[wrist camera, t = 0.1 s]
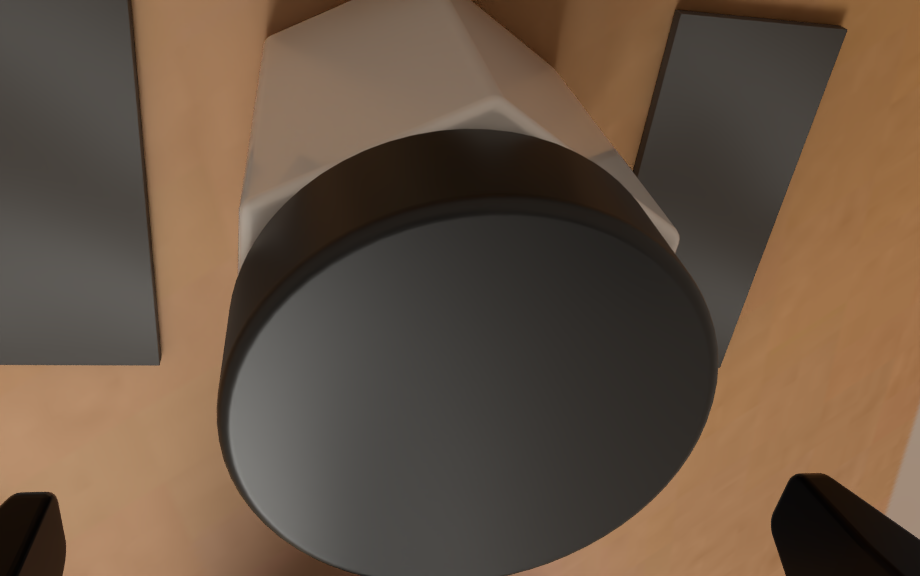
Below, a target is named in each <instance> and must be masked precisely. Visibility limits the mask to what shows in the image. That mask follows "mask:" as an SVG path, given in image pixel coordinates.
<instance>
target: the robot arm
mask: <svg viewBox="0 0 920 576" xmlns="http://www.w3.org/2000/svg"><path fill="white" fill-rule="evenodd" d="M771 530H772V535H773V538H774V541H775V544H776V547H777V550H778V553H779V556H780V559H781V562H782V565H783V568H784V571H785V574H786V576H920V539H918V538H917V537H915V536H914V535H912V534H911V533H910V532H908V531H907V530H905V529H904V528H902V527H901V526H900V525H898V524H897V523H895V522H894V521H892V520H891V519H889V518H888V517H887V516H885V515H884V514H882V513H881V512H880V511H878V510H877V509H875V508H874V507H873V506H871V505H870V504H868V503H867V502H865V501H864V500H863V499H861V498H860V497H858V496H857V495H855V494H854V493H853V492H851V491H850V490H848V489H847V488H845V487H844V486H843V485H841V484H840V483H838V482H837V481H835V480H834V479H833V478H831V477H829V476H828V475H825V474H822V473H802V474H795V475H794V476H792V477H791V478H790V480H789V481H788V483H787V485H786V487H785V489H784V491H783V493H782V495H781V497H780V500H779V502H778V504H777V506H776V508H775V510H774V512H773V514H772V519H771ZM65 557H66V540H65V535H64V530H63V525H62V520H61V514H60V509H59V504H58V500H57V498H56V496H55V495H54V494H53V493H50V492H23V493H16V494H14V495H12V496H10V497H9V498H8V499H7V500H6V501H5V502H4V503H3V504H2V505H1V506H0V576H62V575H63V570H64V565H65Z"/></svg>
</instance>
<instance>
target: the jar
mask: <svg viewBox="0 0 920 576" xmlns="http://www.w3.org/2000/svg"><path fill="white" fill-rule="evenodd" d="M679 240H680V238H679V233H678V231H677V229H676V228H675V227H674V225H673V224H672V223H671V221H670V220H669V219H668V217H667V216H666V215H665V213H664V212H663V211H662V209H661V208H660V207H659V205H658V204H657V203H656V202H655V200H654V199H653V198H652V196H651V195H650V194H649V192H648V191H647V190H646V188H645V187H644V186H643V184H642V183H641V182H640V180H639V179H638V178H637V177H636V175H635V174H634V173H633V171H632V170H631V169H630V167H629V166H628V165H627V163H626V162H625V161H624V159H623V158H622V157H621V155H620V154H619V153H618V151H617V150H616V149H615V148H614V146H613V145H612V144H611V142H610V141H609V140H608V138H607V137H606V136H605V134H604V133H603V132H602V130H601V129H600V128H599V126H598V125H597V124H596V123H595V121H594V120H593V119H592V117H591V116H590V115H589V113H588V112H587V111H586V109H585V108H584V107H583V105H582V104H581V103H580V101H579V100H578V99H577V97H576V96H575V95H574V94H573V92H572V91H571V90H570V88H569V87H568V86H567V84H566V83H565V82H564V80H563V79H562V78H561V76H560V75H559V74H558V72H557V71H556V70H555V69H554V68H553V67H552V66H551V65H549V64H548V63H547V62H546V61H544V60H543V59H542V58H541V57H539V56H538V55H537V54H536V53H535V52H533V51H532V50H531V49H530V48H528V47H527V46H526V45H525V44H524V43H522V42H521V41H520V40H519V39H517V38H516V37H515V36H514V35H513V34H511V33H510V32H509V31H508V30H506V29H505V28H504V27H503V26H501V25H500V24H499V23H498V22H497V21H495V20H494V19H493V18H492V17H490V16H489V15H488V14H487V13H486V12H484V11H483V10H482V9H481V8H479V7H478V6H477V5H476V4H474V3H473V2H472V1H471V0H351V1H348V2H346V3H344V4H341V5H339V6H337V7H335V8H332V9H330V10H328V11H326V12H323V13H321V14H319V15H316V16H314V17H312V18H310V19H307V20H305V21H303V22H300V23H298V24H296V25H294V26H291V27H289V28H287V29H284V30H282V31H280V32H277V33H275V34H273V35H271V36H269V37H268V38H267V39H266V40H265V41H264V44H263V51H262V58H261V64H260V71H259V78H258V85H257V92H256V98H255V105H254V112H253V119H252V125H251V132H250V139H249V146H248V152H247V159H246V166H245V173H244V179H243V186H242V193H241V199H240V206H239V233H238V277H237V280H236V283H235V287H234V290H233V294H232V299H231V304H230V310H229V317H228V325H227V332H226V339H225V346H224V354H223V361H222V368H221V375H220V383H219V390H218V399H217V427H218V436H219V442H220V446H221V450H222V454H223V458H224V462H225V464H226V467H227V469H228V472H229V474H230V477H231V479H232V481H233V482H234V484H235V486H236V488H237V490H238V491H239V493H240V495H241V496H242V497H243V499H244V500H245V502H246V503H247V504H248V506H249V507H250V508H251V510H252V511H253V512H254V513H255V514H256V515H257V516H258V517H259V518H260V519H261V520H262V521H263V523H264V524H265V525H267V526H268V527H269V528H270V529H271V530H272V531H273V532H275V533H276V534H277V535H278V536H279V537H280V538H282V539H283V540H285V541H286V542H288V543H289V544H291V545H292V546H293V547H295V548H296V549H298V550H300V551H302V552H304V553H305V554H307V555H309V556H311V557H312V558H315V559H317V560H319V561H321V562H323V563H326V564H328V565H330V566H333V567H336V568H339V569H342V570H344V571H347V572H351V573H354V574H358V575H362V576H507V575H511V574H515V573H519V572H522V571H526V570H530V569H533V568H536V567H539V566H542V565H545V564H548V563H550V562H553V561H555V560H558V559H560V558H563V557H565V556H567V555H570V554H572V553H574V552H576V551H578V550H580V549H582V548H584V547H586V546H588V545H590V544H592V543H593V542H595V541H597V540H599V539H601V538H602V537H604V536H606V535H607V534H609V533H610V532H612V531H613V530H615V529H616V528H618V527H619V526H621V525H622V524H624V523H625V522H626V521H628V520H629V519H630V518H632V517H633V516H634V515H636V514H637V513H638V512H639V511H640V510H642V509H643V508H644V507H645V506H646V505H647V504H648V503H649V502H651V501H652V500H653V499H654V498H655V497H656V496H657V495H658V494H659V493H660V492H661V491H662V490H663V489H664V488H665V487H666V486H667V484H668V483H669V482H670V481H671V480H672V478H673V477H674V476H675V475H676V473H677V472H678V471H679V470H680V468H681V467H682V465H683V464H684V463H685V461H686V460H687V458H688V457H689V455H690V454H691V452H692V450H693V448H694V447H695V445H696V443H697V441H698V440H699V437H700V435H701V433H702V431H703V428H704V426H705V424H706V422H707V419H708V416H709V412H710V409H711V406H712V403H713V399H714V394H715V389H716V385H717V375H718V346H717V340H716V334H715V328H714V325H713V322H712V318H711V315H710V312H709V309H708V307H707V304H706V302H705V299H704V297H703V295H702V293H701V292H700V290H699V288H698V286H697V284H696V283H695V281H694V280H693V278H692V277H691V275H690V274H689V272H688V271H687V269H686V268H685V267H684V265H683V264H682V262H681V261H680V260H679V258H678V257H677V256H676V254H675V253H676V250H677V247H678V244H679Z"/></svg>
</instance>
